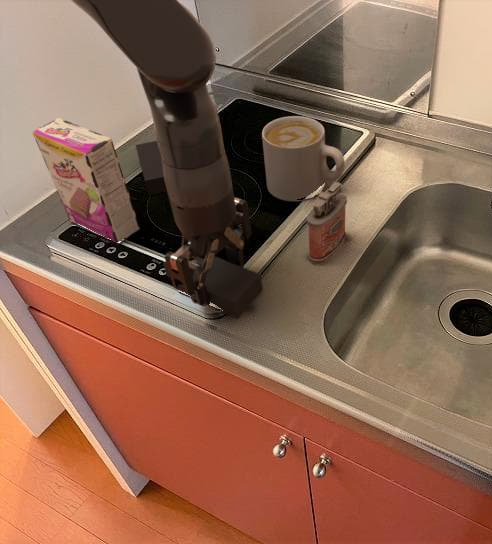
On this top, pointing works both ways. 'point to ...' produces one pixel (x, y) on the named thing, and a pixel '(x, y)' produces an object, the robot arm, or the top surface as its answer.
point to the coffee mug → (297, 157)
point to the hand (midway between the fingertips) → (219, 285)
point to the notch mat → (151, 167)
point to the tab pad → (229, 286)
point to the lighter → (327, 225)
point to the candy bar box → (88, 178)
